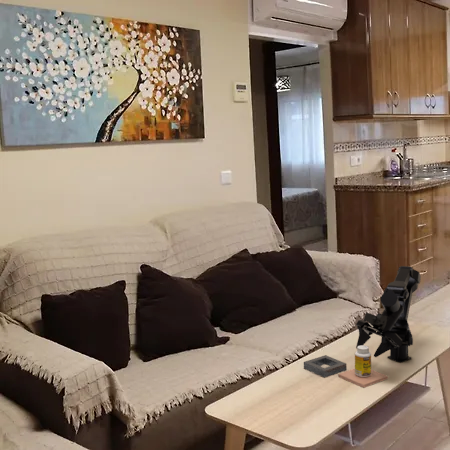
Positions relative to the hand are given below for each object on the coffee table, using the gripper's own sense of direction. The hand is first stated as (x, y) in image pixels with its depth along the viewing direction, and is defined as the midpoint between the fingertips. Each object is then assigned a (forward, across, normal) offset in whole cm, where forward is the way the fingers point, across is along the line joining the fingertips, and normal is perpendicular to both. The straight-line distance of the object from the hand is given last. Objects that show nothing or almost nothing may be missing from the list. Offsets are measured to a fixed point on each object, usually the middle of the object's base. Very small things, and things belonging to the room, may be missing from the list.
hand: (365, 352), depth 209 cm
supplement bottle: (+7, 0, +5) cm, 8 cm away
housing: (+12, -13, +1) cm, 18 cm away
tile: (+7, 0, +5) cm, 9 cm away
